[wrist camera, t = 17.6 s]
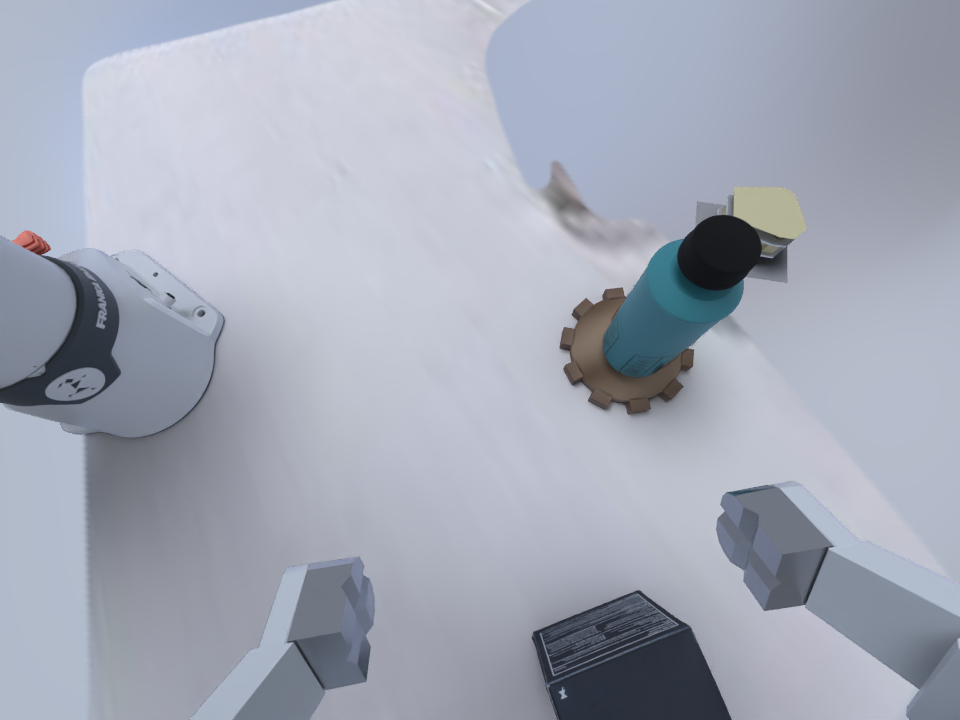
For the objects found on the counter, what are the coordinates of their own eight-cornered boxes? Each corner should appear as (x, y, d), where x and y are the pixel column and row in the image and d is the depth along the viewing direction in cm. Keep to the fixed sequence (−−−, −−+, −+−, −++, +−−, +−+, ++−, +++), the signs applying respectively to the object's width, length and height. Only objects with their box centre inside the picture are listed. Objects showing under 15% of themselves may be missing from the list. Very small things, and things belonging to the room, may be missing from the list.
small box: (559, 715, 36) (582, 802, 26) (529, 631, 38) (540, 682, 28) (674, 667, 37) (740, 733, 27) (640, 587, 38) (689, 620, 28)
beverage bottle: (640, 396, 42) (759, 317, 23) (582, 358, 43) (648, 253, 24) (674, 345, 43) (813, 230, 24) (617, 309, 45) (705, 173, 25)
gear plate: (534, 348, 45) (535, 343, 44) (618, 272, 47) (622, 265, 46) (628, 439, 42) (632, 438, 41) (713, 354, 44) (720, 349, 43)
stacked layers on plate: (692, 269, 48) (716, 241, 42) (696, 201, 50) (719, 167, 45) (787, 283, 47) (823, 256, 41) (786, 213, 49) (821, 180, 44)
